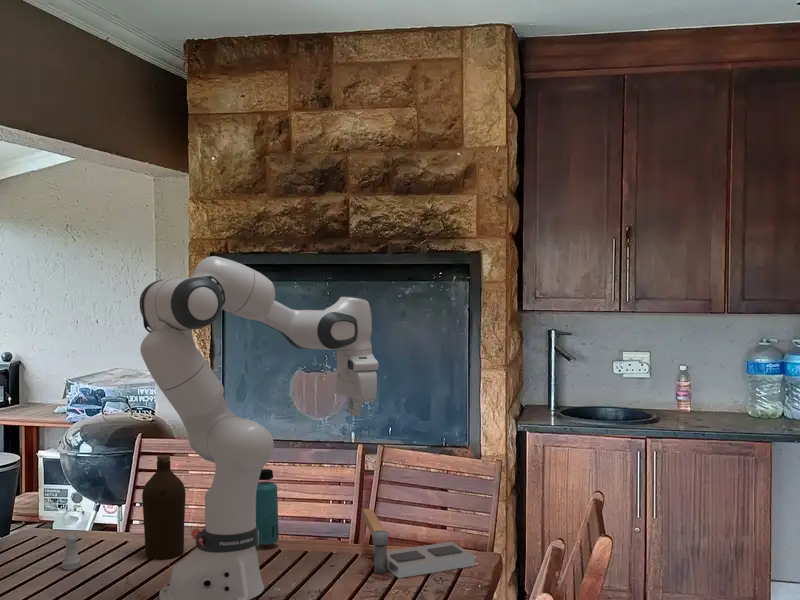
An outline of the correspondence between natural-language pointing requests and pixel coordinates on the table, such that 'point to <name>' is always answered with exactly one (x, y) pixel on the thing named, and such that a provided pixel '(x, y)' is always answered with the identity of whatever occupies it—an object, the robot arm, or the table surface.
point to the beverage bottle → (267, 509)
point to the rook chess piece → (71, 553)
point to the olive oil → (164, 512)
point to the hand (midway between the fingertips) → (355, 415)
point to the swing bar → (375, 527)
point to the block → (421, 559)
